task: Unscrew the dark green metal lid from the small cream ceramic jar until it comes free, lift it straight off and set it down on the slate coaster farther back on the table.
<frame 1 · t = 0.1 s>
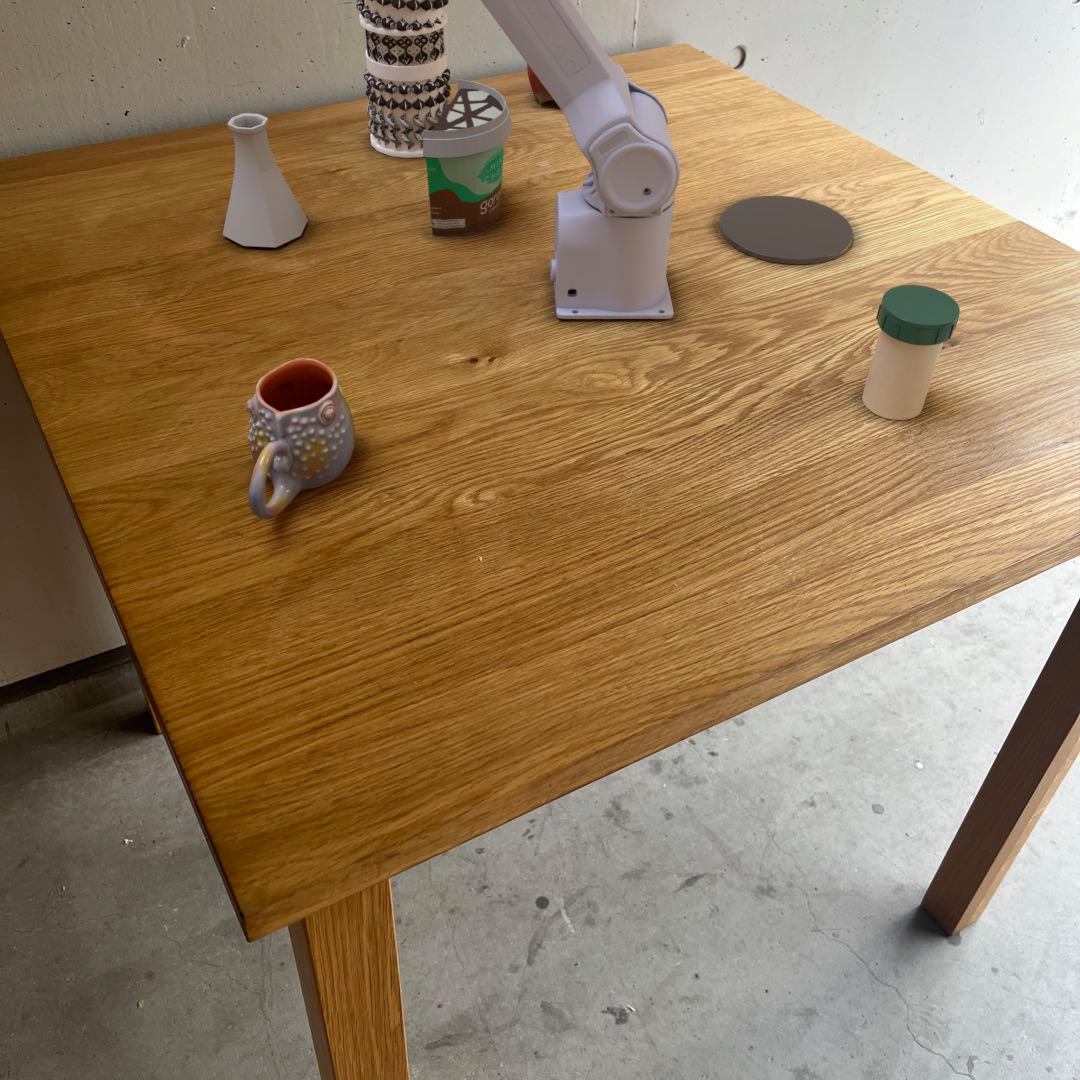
jar: (892, 402, 82), on the table
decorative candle: (411, 142, 113), on the table
lid: (919, 308, 76), point 8 cm above the table, screwed on, not yet turned
food container: (478, 216, 102), on the table
fruit: (562, 99, 122), on the table
flask: (266, 232, 99), on the table
mug: (293, 487, 74), on the table
coaster: (785, 231, 100), on the table
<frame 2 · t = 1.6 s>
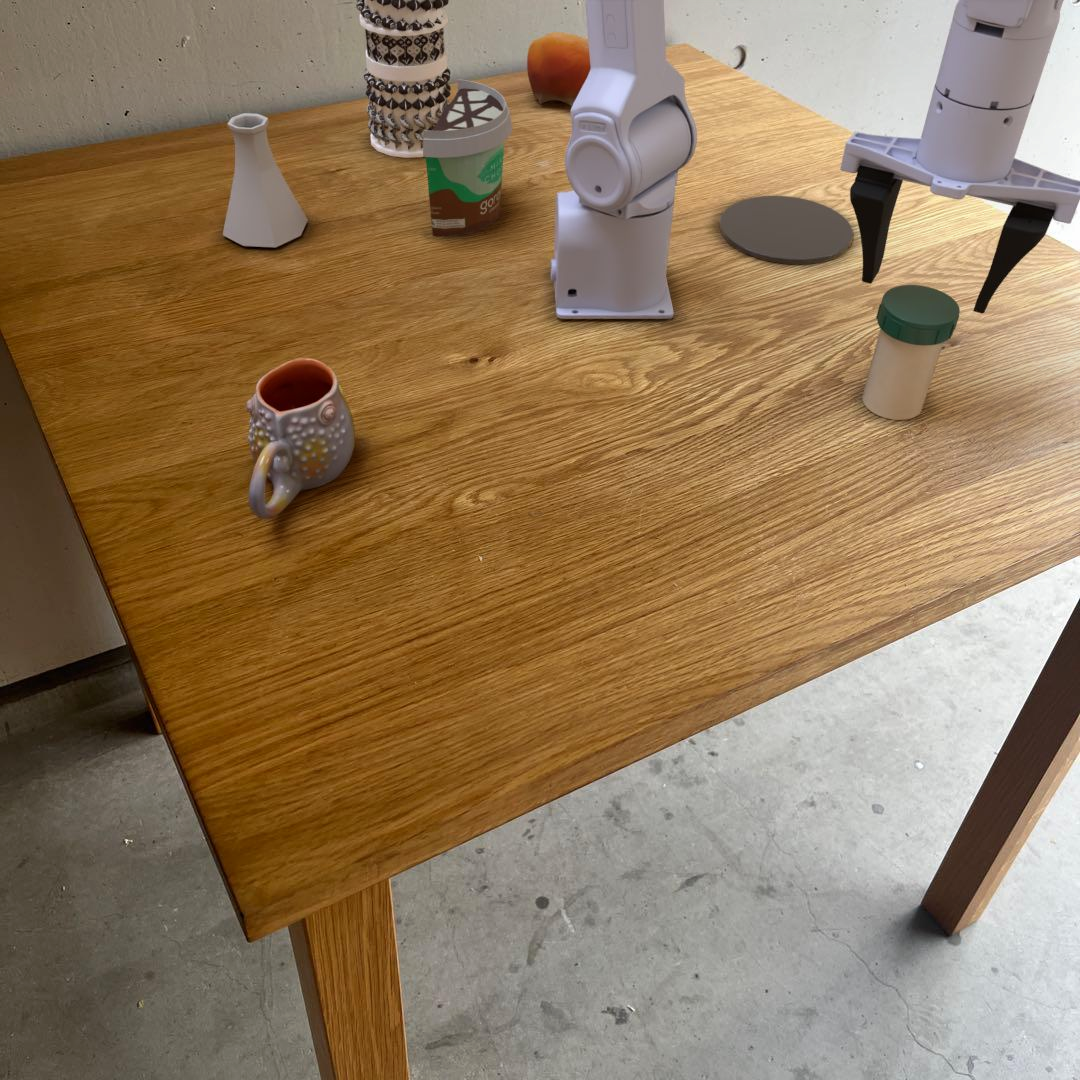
hand: (924, 290, 75), 9 cm above the table, tool pointing down, fingers open, 7 cm apart
nothing on the table moved.
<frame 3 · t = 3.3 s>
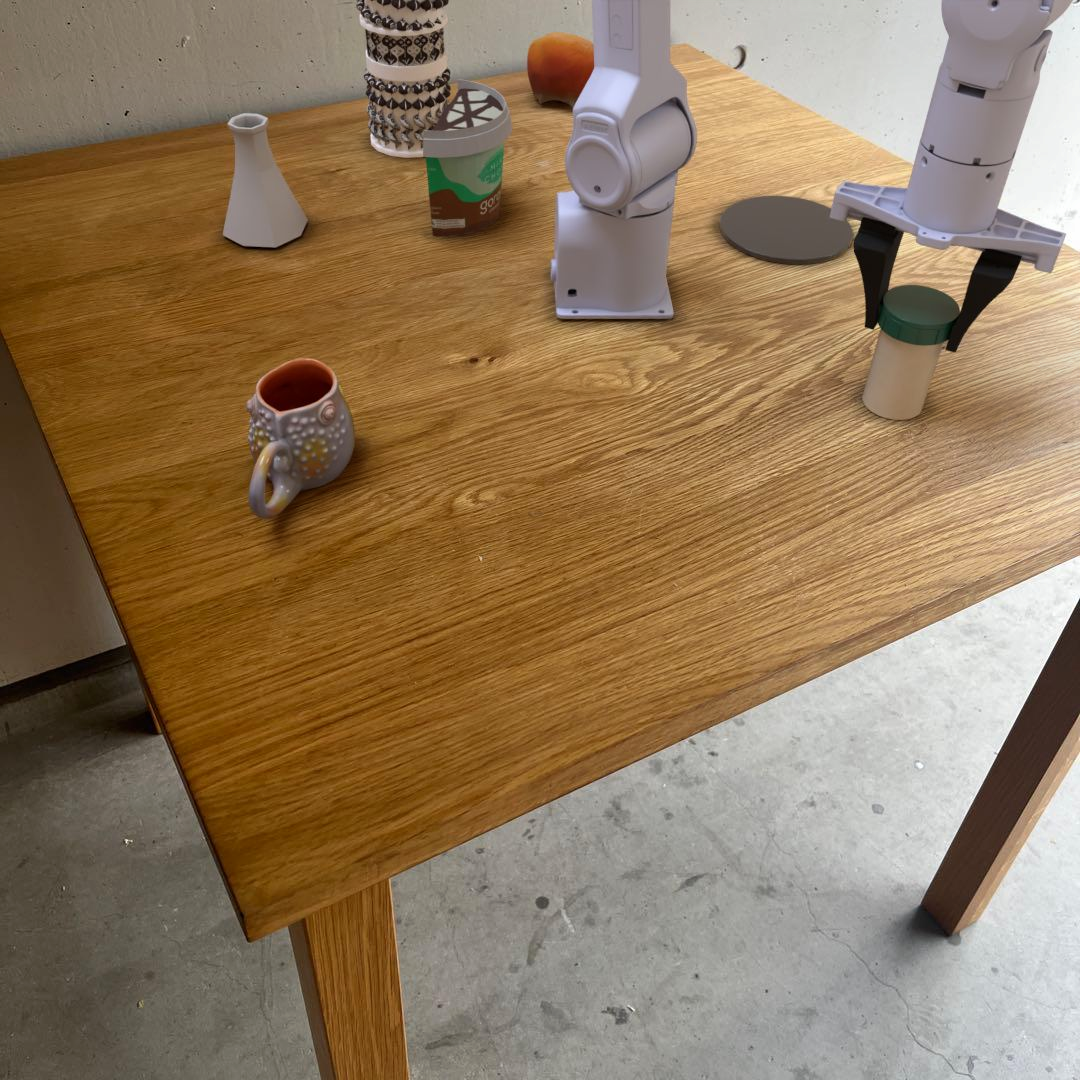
hand: (912, 333, 78), 6 cm above the table, tool pointing down, fingers closed on lid, 5 cm apart
lid: (919, 308, 76), point 8 cm above the table, screwed on, not yet turned, touching gripper
everything else where it was.
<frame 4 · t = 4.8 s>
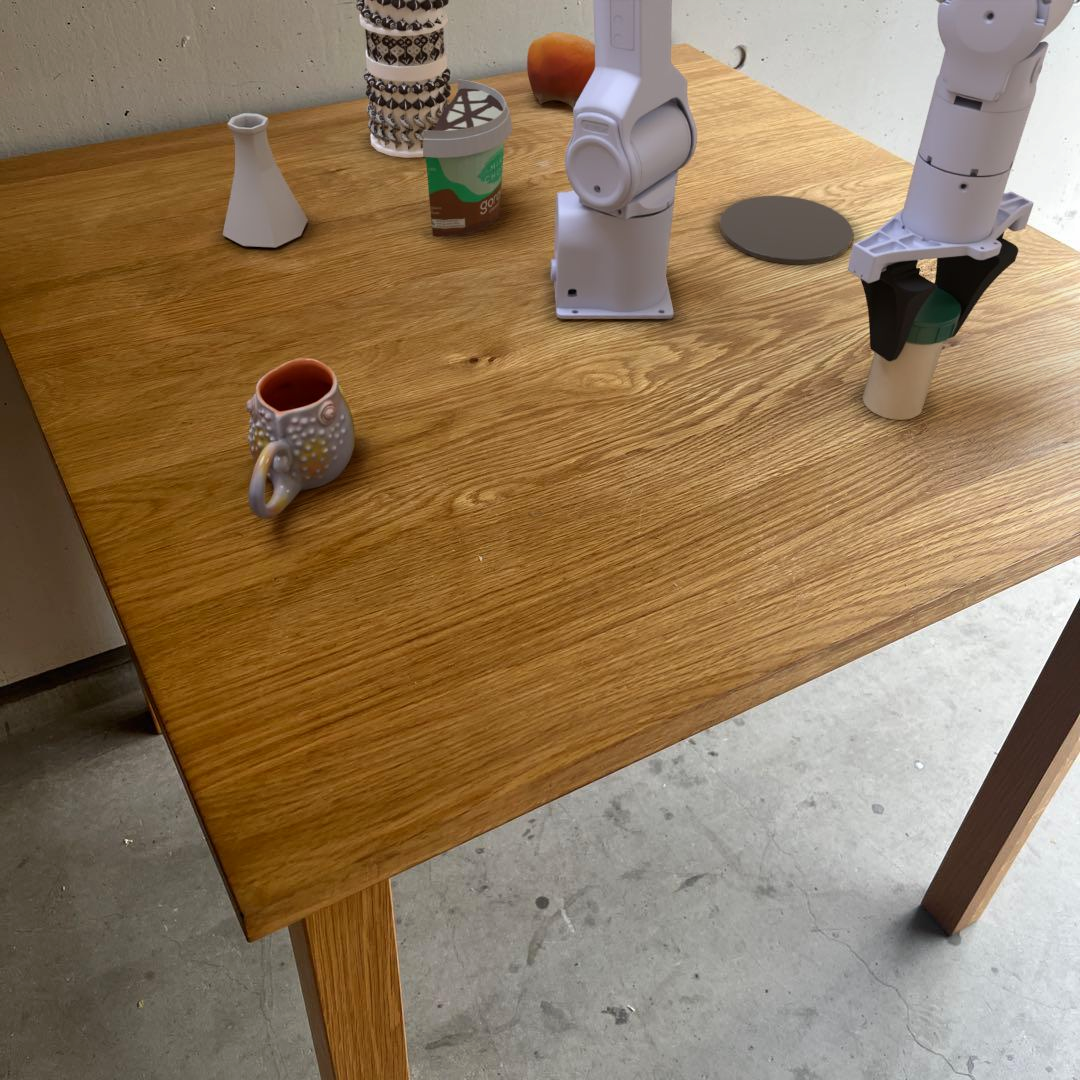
hand: (912, 342, 78), 5 cm above the table, tool pointing down, fingers closed on lid, 5 cm apart
lid: (920, 307, 76), point 8 cm above the table, turned 51° so far, risen 0.1 cm, still on its thread, touching gripper
everything else where it was.
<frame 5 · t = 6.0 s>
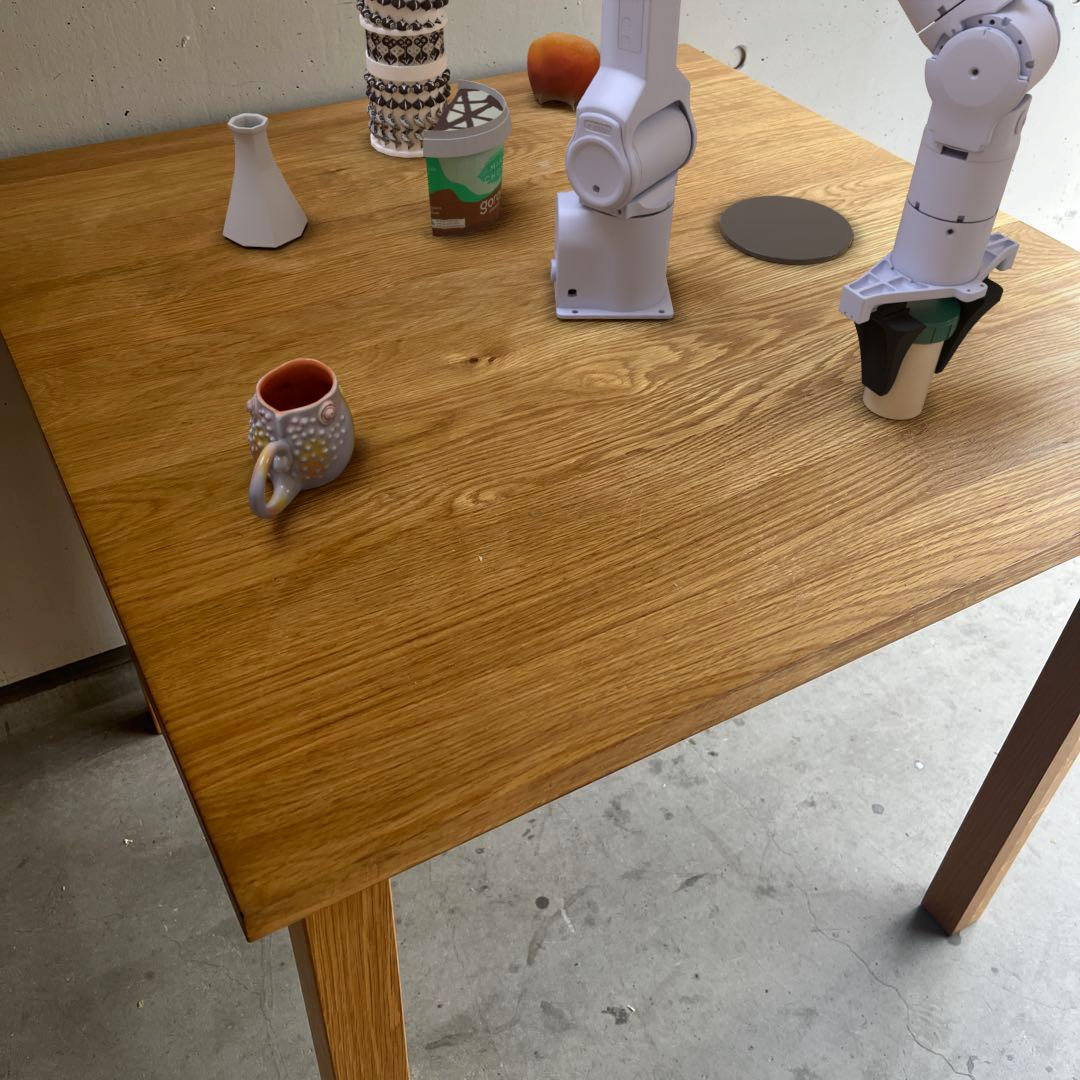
hand: (901, 377, 80), 2 cm above the table, tool pointing down, fingers closed on lid, 5 cm apart
lid: (920, 307, 76), point 8 cm above the table, turned 45° so far, risen 0.1 cm, still on its thread, touching gripper
everything else where it was.
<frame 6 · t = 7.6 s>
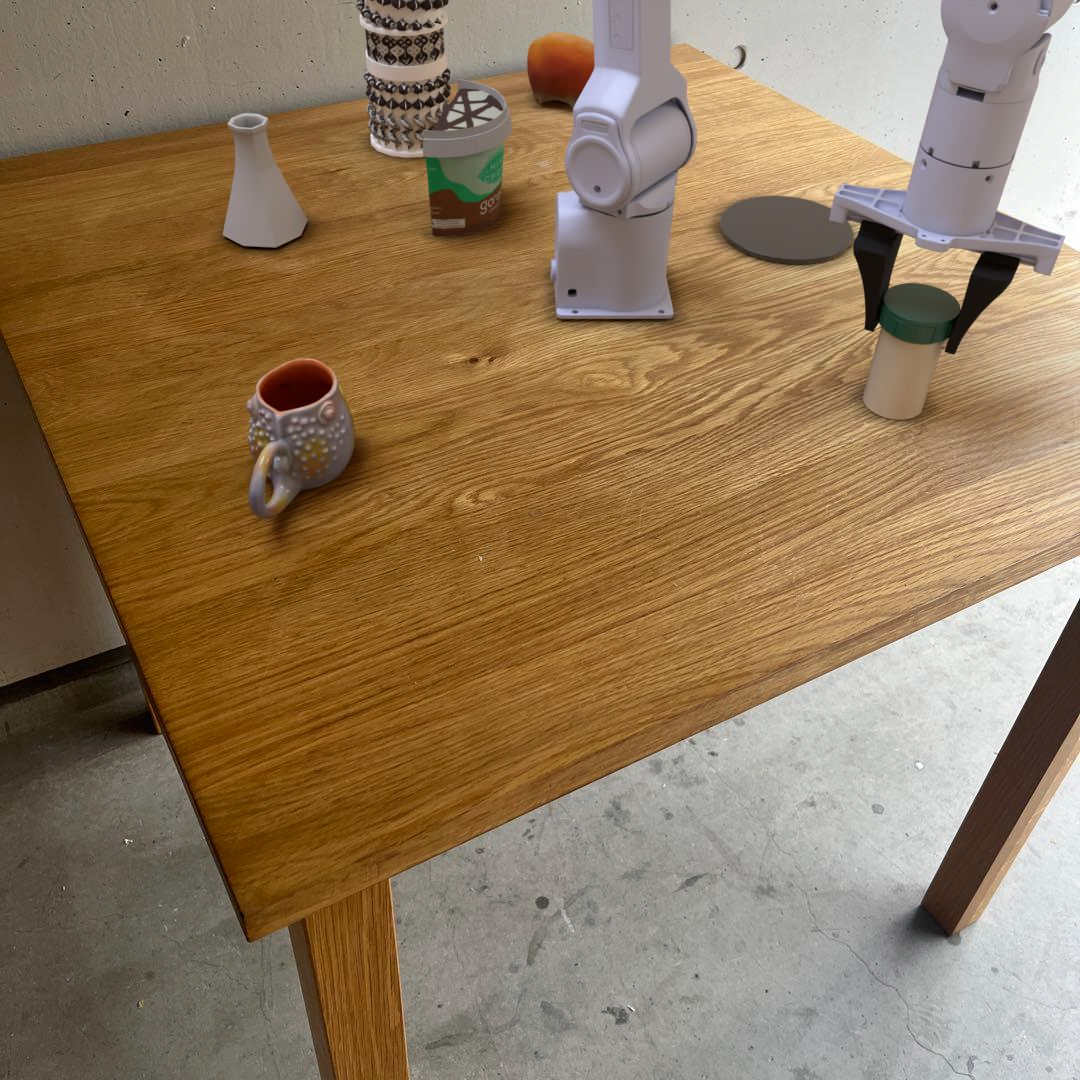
hand: (911, 335, 78), 6 cm above the table, tool pointing down, fingers closed on lid, 5 cm apart
lid: (920, 306, 76), point 8 cm above the table, turned 45° so far, risen 0.1 cm, still on its thread, touching gripper
everything else where it was.
when the fingers open (2 cm above the table, at t = 14.8 s): lid drops 3 cm, resting on coaster.
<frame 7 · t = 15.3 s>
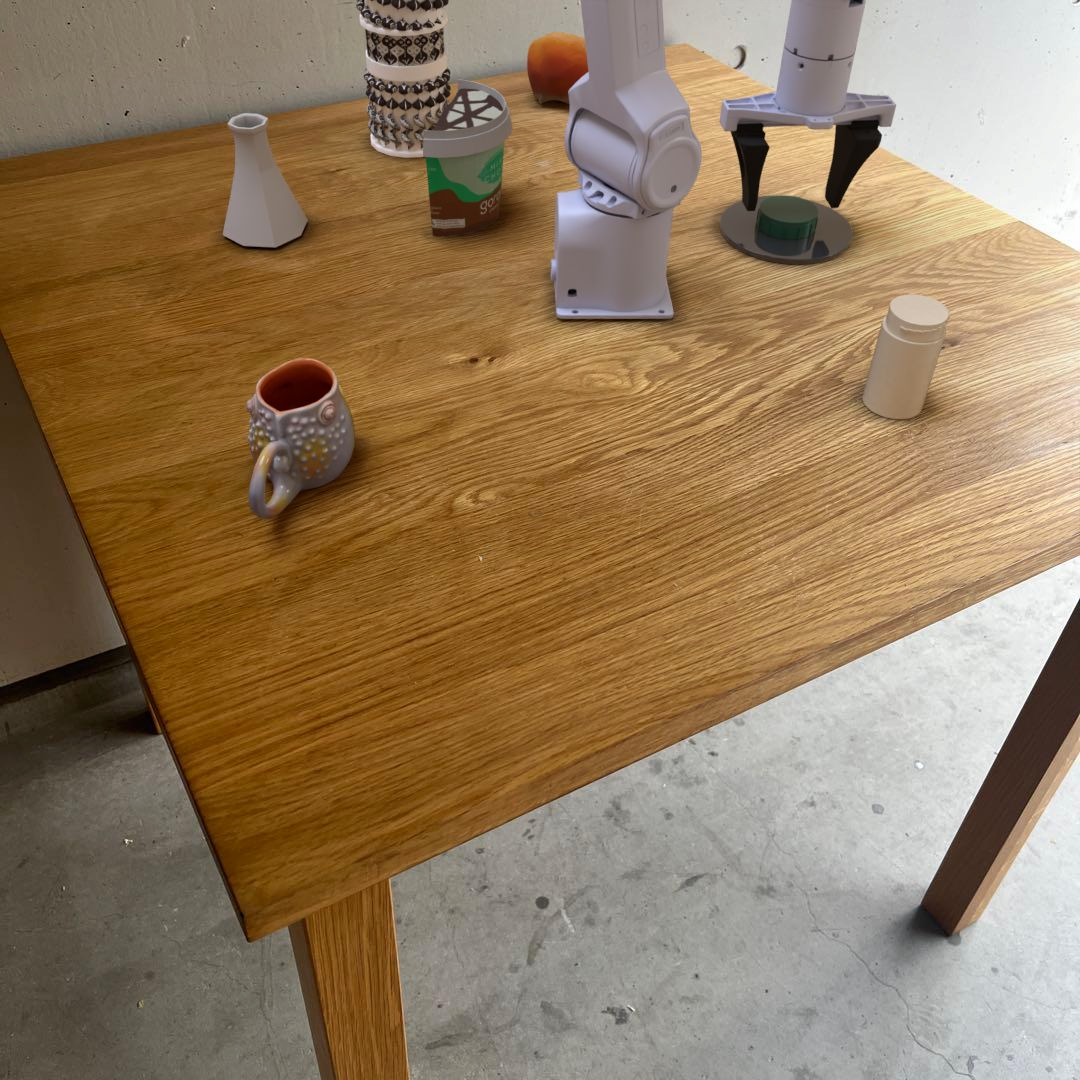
hand: (790, 204, 99), 3 cm above the table, tool pointing down, fingers open, 7 cm apart
lid: (788, 212, 99), point 2 cm above the table, off its thread, touching coaster
everything else where it was.
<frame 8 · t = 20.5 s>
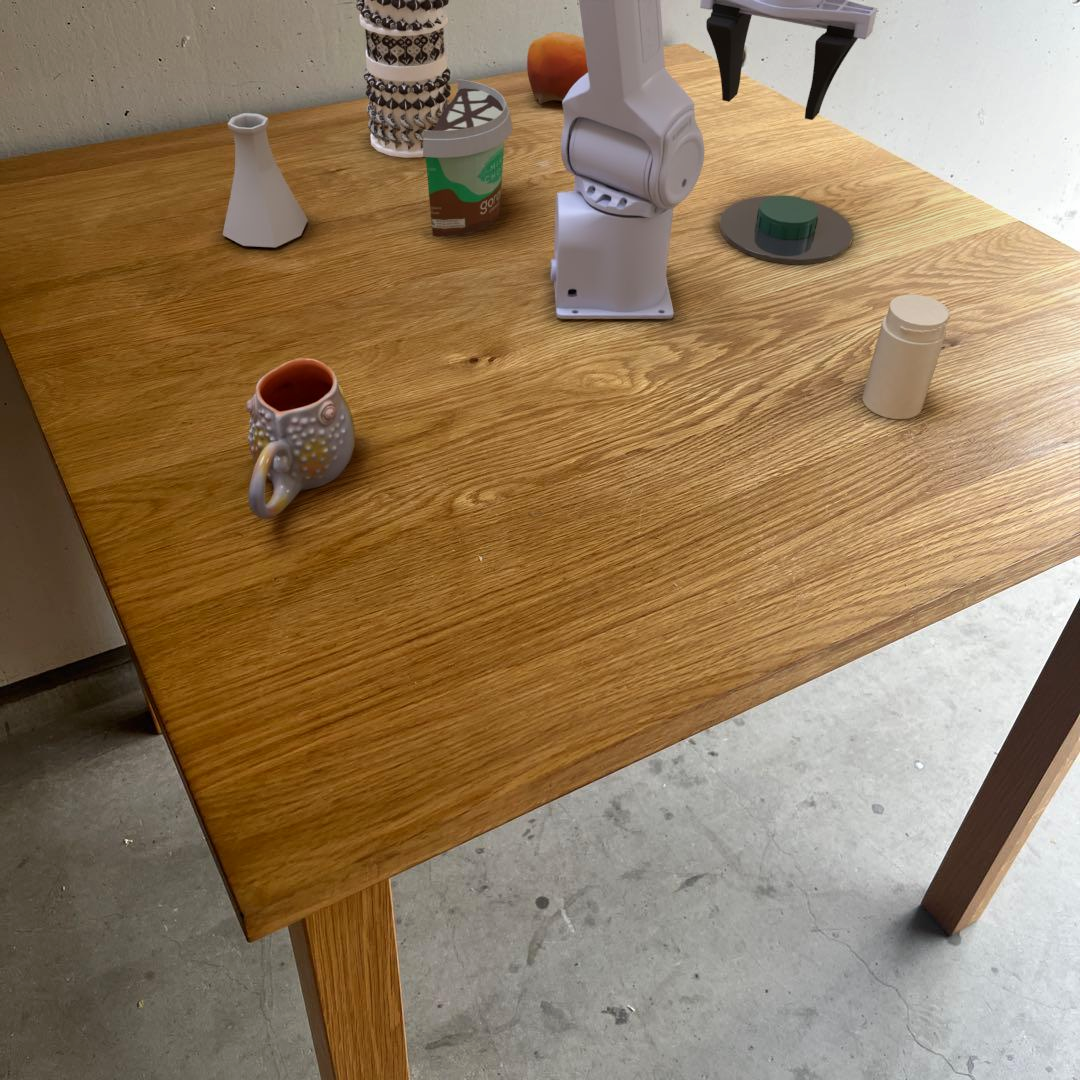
hand: (770, 106, 97), 9 cm above the table, tool pointing down, fingers open, 7 cm apart
nothing on the table moved.
at the end: the gripper is holding nothing; lid point 1.8 cm above the table; lid inside the target area on the coaster (0.1 cm from its centre), point 1.8 cm above the coaster's base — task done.
